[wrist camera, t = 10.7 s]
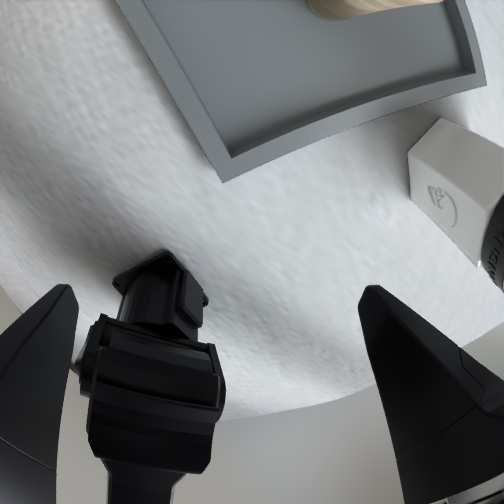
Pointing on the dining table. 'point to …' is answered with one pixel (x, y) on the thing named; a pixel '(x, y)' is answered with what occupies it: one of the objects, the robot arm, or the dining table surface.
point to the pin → (356, 7)
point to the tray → (298, 69)
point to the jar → (462, 191)
